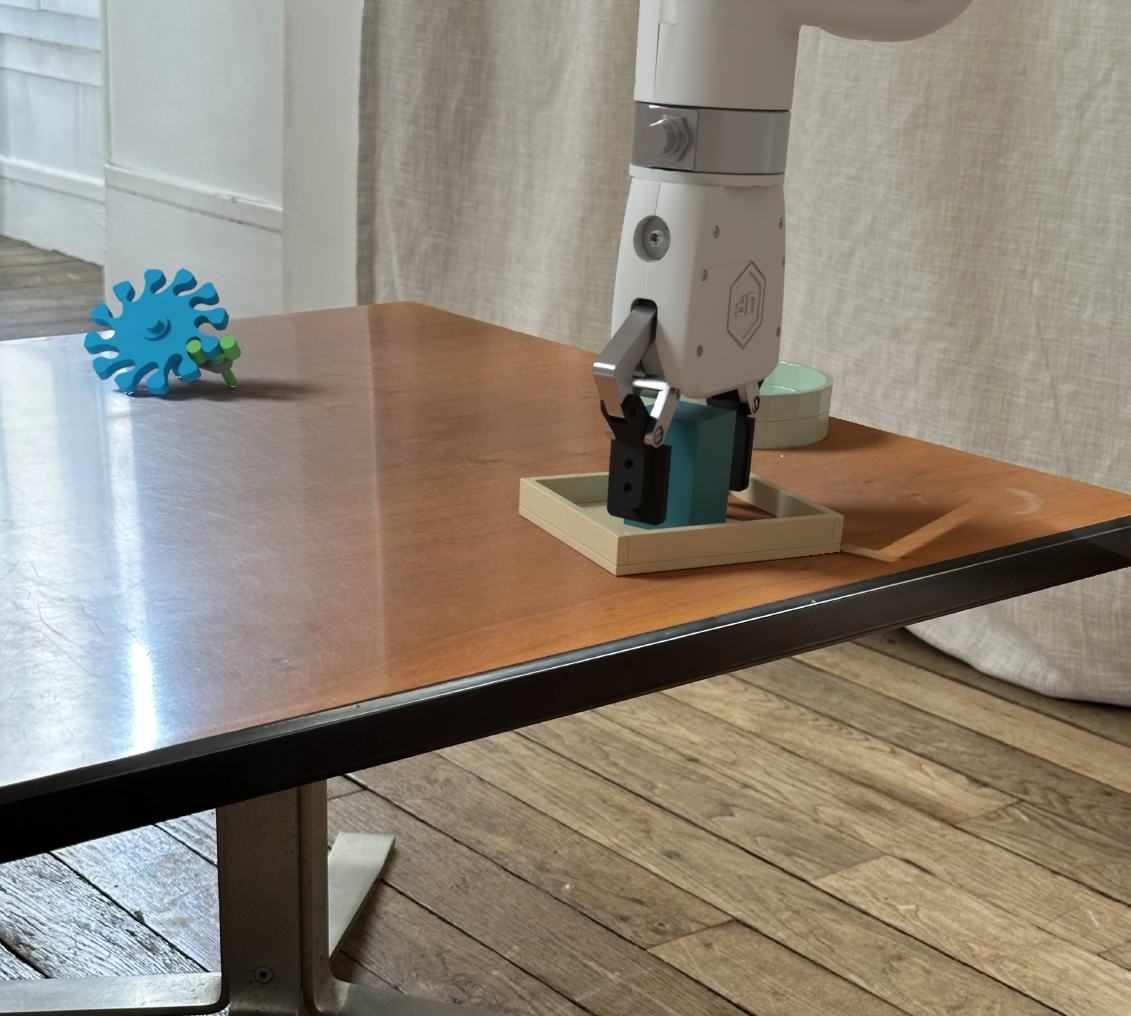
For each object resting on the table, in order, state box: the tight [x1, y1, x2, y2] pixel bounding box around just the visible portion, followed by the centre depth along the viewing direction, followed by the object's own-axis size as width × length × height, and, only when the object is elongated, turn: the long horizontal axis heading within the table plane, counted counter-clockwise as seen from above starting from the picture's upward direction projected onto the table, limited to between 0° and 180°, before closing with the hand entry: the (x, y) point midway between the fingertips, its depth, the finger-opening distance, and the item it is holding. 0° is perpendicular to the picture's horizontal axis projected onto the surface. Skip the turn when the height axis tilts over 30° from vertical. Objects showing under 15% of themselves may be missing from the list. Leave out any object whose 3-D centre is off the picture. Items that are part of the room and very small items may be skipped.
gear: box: [83, 267, 242, 396], centre depth 111 cm, size 11×6×10 cm
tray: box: [518, 471, 845, 577], centre depth 84 cm, size 13×11×2 cm
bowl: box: [640, 359, 834, 450], centre depth 106 cm, size 14×14×4 cm
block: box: [623, 401, 736, 530], centre depth 83 cm, size 4×4×6 cm
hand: (679, 501), depth 84 cm, fingers open, 8 cm apart
